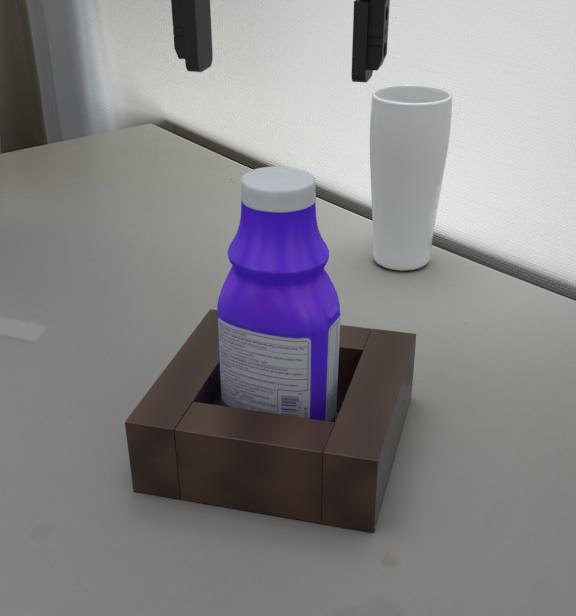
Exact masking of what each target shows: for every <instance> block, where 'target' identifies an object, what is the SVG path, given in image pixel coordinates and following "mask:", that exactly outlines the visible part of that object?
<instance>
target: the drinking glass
mask: <svg viewBox="0 0 576 616" xmlns="http://www.w3.org/2000/svg"><path fill="white" fill-rule="evenodd" d="M452 110H453V94H452V93H451V92H450V91H448V90H446V89H444V88H440V87H437V86H431V85H422V84H397V85H395V84H394V85H387V86H382V87H379V88H377V89H375V90H373V92H372V93H371V102H370V113H369V133H368V135H369V137H368V142H369V147H368V148H369V167H370V168H369V170H370V171H369V172H370V193H371V195H370V196H371V197H370V198H371V217H372V218H371V219H372V246H371V247H372V249H371V254H372V258H373V260H374V261H375V263H376V264H377V265H379V266H381V267H383V268H386V269H388V270H394V271H404V272H405V271H414V270H418V269H420V268H424V267H425V266H426V265H427V264H428V263H429V262H430V260H431V257H432V250H433V249H432V248H433V238H434V233H435V226H436V220H437V215H438V209H439V204H440V197H441V192H442V186H443V180H444V175H445V169H446V165H447V164H446V163H447V157H448V153H449V146H450V145H449V144H450V137H451V126H452V114H453V113H452Z"/></svg>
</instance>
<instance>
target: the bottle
mask: <svg viewBox="0 0 576 616" xmlns="http://www.w3.org/2000/svg"><path fill="white" fill-rule="evenodd" d="M316 183H317V181H316V177H315V175H314V174H312V173H311V172H309V171H306V170H305V169H300V168H296V167H290V166H264V167H263V166H262V167H259V168H255V169H252V170H248V171H247V172H245V173H244V174H243V175H242V176H241V179H240V218H239V225H238V228H237V231H236V233H235V235H234V237H233V239H232V241H231V242H230V243H229V246H228V249H227V257H228V261H229V263H230V264H231V265H232V266H231V268H230V270H229V272H228V274H227V276H226V277H225V279H224V282H223V284H222V285H221V286H222V287H221V289H220V292H219V296H218V298H217V305H216V307H217V309H216V310H217V312H218V335H219V360H220V385H221V405H222V406H226V407H232V408H239V409H246V410H253V411H260V412H267V413H274V414H281V415H288V416H294V417H301V418H308V419H315V420H322V421H329V422H334V423H335V421H336V415H337V410H336V408H337V386H338V363H339V340H340V325H341V318H342V317H341V304H340V299H339V295H338V294H339V293H338V292H337V290H336V287H335V285H334V283H333V282H332V279H331V277H330V275H329V274H328V272H327V271H326V269H325V267H326V265H327V264H328V262H329V260H330V250H329V247H328V245H327V243H326V241H324V238H323V237H322V235H321V232H320V230H319V226H318V220H317V208H316V207H317V206H316V204H317V193H316V190H317V189H316V187H317V185H316Z"/></svg>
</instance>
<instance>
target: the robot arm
mask: <svg viewBox="0 0 576 616" xmlns="http://www.w3.org/2000/svg"><path fill="white" fill-rule="evenodd" d="M170 4H171V5H170V6H171V18H172V19H171V20H172V27H173V28H172V35H173V49H174V51H175V53H176V55H177V58H178V59H179V60H184V62H185V68H186V71H187V72H192V73H193V72H194V73H203V72H204V71H206V70H208V69H209V68H211V66H212V64H213V55H214V54H213V35H212V32H213V31H212V15H211V14H212V13H211V0H170ZM390 5H391V0H354V1H353V14H352V15H353V18H352V21H353V22H352V49H351V50H352V51H351V81H352V82H353V83H368V81H369V80H370V79H371V78H372V77H373V73H374V71H379V69H380V68H381V67H382V66H383V64H384V61H385V60H386V57H387V56H388V55H387V54H388V38H389V22H390V21H389V20H390Z"/></svg>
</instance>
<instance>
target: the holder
mask: <svg viewBox="0 0 576 616" xmlns="http://www.w3.org/2000/svg"><path fill="white" fill-rule="evenodd" d="M416 344H417V333H413V332H406V331H405V332H403V331H396V330H389V329H380V328H370V327H363V326H353V325H345V324H340V340H339V363H338V386H337V408H336V412H337V411H338V413H337V416H336V418H335V423H334V422H329V421H322V420H315V419H308V418H301V417H294V416H288V415H281V414H274V413H267V412H260V411H253V410H246V409H239V408H232V407H226V406H222V405H221V385H220V360H219V335H218V312H217V309H209V310H208V311H207V313H206V314H205V315H204V317H203V318H202V320H200V322H199V323H198V325H197V326H196V327H195V329H194V330H193V331H192V332H191V334H190V335H189V336H188V338H187V339H186V340H185V342H184V343H183V344H182V345H181V347H180V348H179V350H178V351H177V352H176V353H175V355H174V357H173V358H171V360H170V361H169V363H168V364H167V365H166V367H165V368H164V369H163V371H162V372H161V373H160V375H159V376H158V377H157V379H156V380H155V381H154V382H153V384H152V385H151V386H150V388H149V390H147V392H146V393H145V395H144V396H143V397H142V398H141V399H140V401H139V402H138V404H137V405H136V406H135V408H134V409H133V411H132V412H131V413H130V414H129V416H128V417H127V418H126V419H125V421H124V427H125V428H124V429H125V436H126V444H127V450H128V451H127V453H128V460H129V467H130V475H131V482H132V491H133V492H137V493H142V494H148V495H153V494H154V496H159V497H165V498H171V499H176V498H177V500H183V501H189V502H194V503H199V504H205V505H206V504H207V505H211V506H218V507H223V508H230V509H235V510H240V511H247V512H252V513H259V514H263V515H268V516H269V515H270V516H276V517H281V518H287V519H293V520H299V521H304V522H310V523H317V524H322V525H327V526H333V527H339V528H344V529H351V530H355V531H361V532H362V531H363V532H368V533H375V530H376V527H377V522H378V519H379V515H380V513H381V510H382V509H381V508H382V505H383V501H384V497H385V494H386V490H387V486H388V484H389V481H390V480H389V479H390V476H391V472H392V468H393V465H394V462H395V458H396V454H397V450H398V447H399V444H400V439H401V437H402V432H403V428H404V425H405V421H406V418H407V414H408V410H409V406H410V405H411V399H412V395H413V381H414V380H413V379H414V370H415V357H416V346H417V345H416Z"/></svg>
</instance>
